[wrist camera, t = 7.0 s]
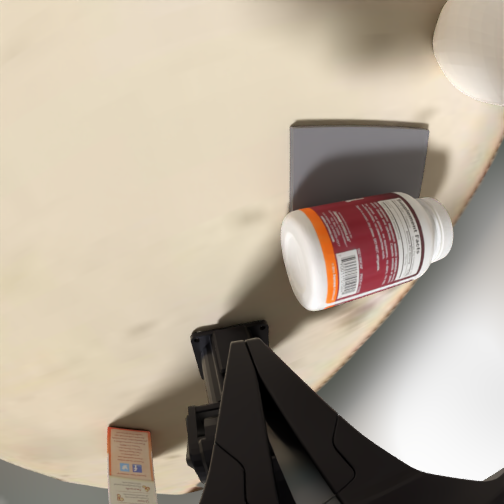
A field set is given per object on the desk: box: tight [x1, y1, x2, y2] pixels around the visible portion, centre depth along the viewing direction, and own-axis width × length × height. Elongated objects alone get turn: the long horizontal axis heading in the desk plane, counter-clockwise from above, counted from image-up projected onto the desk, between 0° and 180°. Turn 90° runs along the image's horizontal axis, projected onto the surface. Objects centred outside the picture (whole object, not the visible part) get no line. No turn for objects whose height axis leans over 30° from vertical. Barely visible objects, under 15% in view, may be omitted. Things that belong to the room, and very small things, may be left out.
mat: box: [290, 125, 429, 212], centre depth 21 cm, size 10×11×1 cm
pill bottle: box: [281, 192, 453, 311], centre depth 19 cm, size 6×6×11 cm
